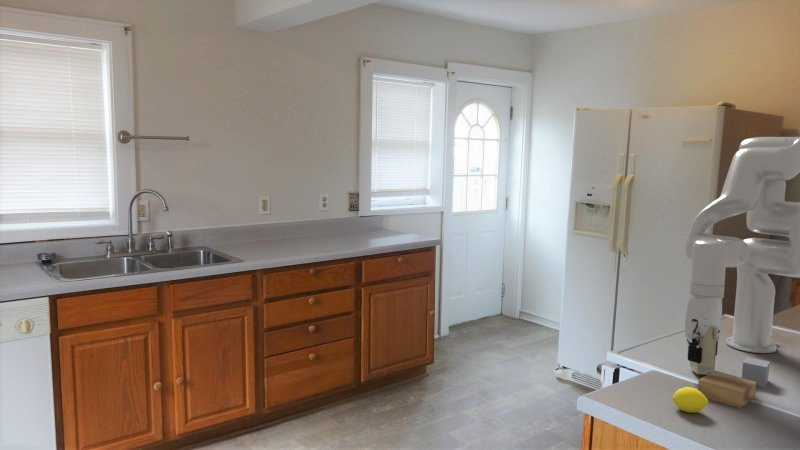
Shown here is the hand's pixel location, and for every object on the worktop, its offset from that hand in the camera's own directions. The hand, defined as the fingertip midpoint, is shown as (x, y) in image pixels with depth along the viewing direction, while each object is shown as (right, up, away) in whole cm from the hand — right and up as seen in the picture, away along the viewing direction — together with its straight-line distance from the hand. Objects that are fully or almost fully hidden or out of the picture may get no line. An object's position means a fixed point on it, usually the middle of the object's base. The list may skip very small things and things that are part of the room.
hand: (702, 357), depth 147 cm
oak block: (-1, -6, -13) cm, 14 cm away
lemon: (-14, -7, -21) cm, 26 cm away
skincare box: (0, -4, +1) cm, 4 cm away
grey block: (+11, -5, -4) cm, 13 cm away
